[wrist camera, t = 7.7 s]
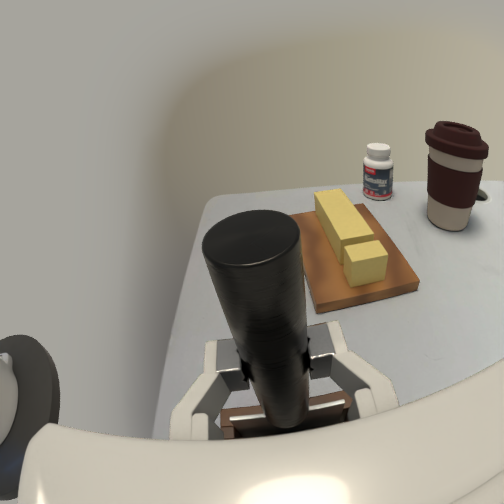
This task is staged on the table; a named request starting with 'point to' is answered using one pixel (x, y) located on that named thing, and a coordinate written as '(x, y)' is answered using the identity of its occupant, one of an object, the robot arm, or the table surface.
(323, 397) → the knife holder
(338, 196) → the butter block
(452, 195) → the coffee cup
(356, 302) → the cutting board
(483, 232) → the table surface
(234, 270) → the knife
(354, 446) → the robot arm
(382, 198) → the pill bottle
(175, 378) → the table surface
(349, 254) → the butter slice
